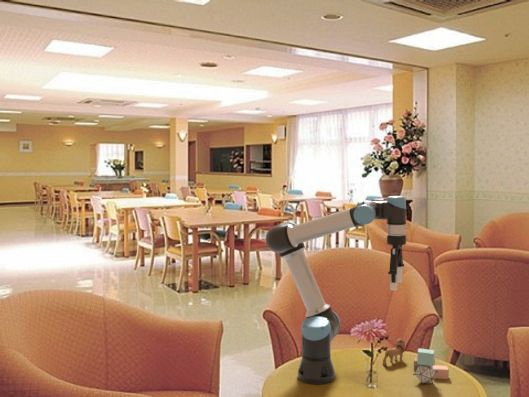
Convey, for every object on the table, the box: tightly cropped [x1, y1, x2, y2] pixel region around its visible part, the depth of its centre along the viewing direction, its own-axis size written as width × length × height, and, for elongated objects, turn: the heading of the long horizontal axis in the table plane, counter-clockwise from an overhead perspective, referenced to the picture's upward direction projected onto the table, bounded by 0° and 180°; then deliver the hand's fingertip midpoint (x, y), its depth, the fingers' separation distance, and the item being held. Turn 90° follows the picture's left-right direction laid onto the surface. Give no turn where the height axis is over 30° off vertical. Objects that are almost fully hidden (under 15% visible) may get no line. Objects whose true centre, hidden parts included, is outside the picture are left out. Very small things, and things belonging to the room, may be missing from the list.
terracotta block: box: [432, 364, 450, 380], centre depth 214 cm, size 6×4×4 cm, turn 80°
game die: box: [412, 364, 438, 386], centre depth 208 cm, size 9×8×10 cm
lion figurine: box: [382, 338, 406, 367], centre depth 229 cm, size 15×5×9 cm, turn 137°
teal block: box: [417, 348, 435, 366], centre depth 207 cm, size 6×4×5 cm, turn 68°
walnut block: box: [413, 356, 436, 371], centre depth 222 cm, size 8×5×4 cm, turn 68°
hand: (396, 286), depth 214 cm, fingers open, 13 cm apart
